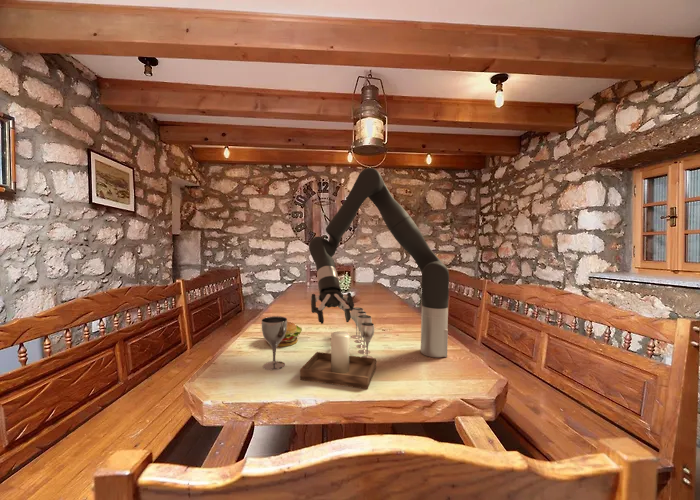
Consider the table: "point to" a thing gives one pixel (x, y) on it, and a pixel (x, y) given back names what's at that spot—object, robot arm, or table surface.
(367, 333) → the goblet set
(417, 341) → the table surface
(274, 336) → the wine glass
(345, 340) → the dome-topped cylinder
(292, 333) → the food
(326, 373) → the serving tray
